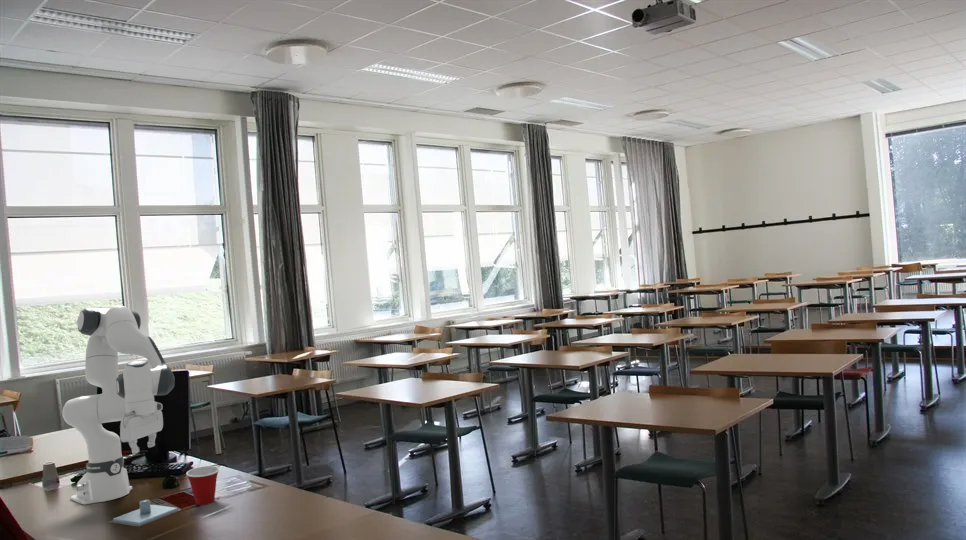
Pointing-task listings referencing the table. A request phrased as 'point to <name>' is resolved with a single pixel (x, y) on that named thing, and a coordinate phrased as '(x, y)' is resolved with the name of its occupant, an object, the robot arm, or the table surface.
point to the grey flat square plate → (143, 523)
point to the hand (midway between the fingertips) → (143, 450)
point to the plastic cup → (203, 483)
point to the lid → (145, 513)
